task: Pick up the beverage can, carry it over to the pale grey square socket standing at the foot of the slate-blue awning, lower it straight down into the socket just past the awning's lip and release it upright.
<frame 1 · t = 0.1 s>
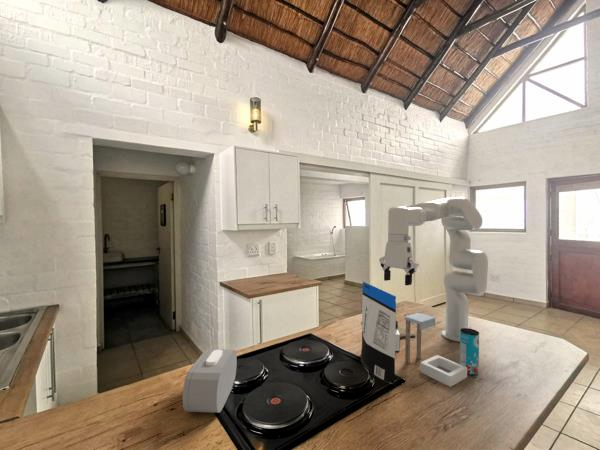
hand: (397, 282, 108), 31 cm above the countertop, tool pointing down, fingers open, 9 cm apart
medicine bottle: (390, 347, 122), on the countertop
beverage can: (469, 372, 102), on the countertop
protein powder: (376, 368, 104), on the countertop
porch: (435, 370, 103), on the countertop
alarm clock: (212, 400, 85), on the countertop
dish towel: (386, 331, 142), on the countertop
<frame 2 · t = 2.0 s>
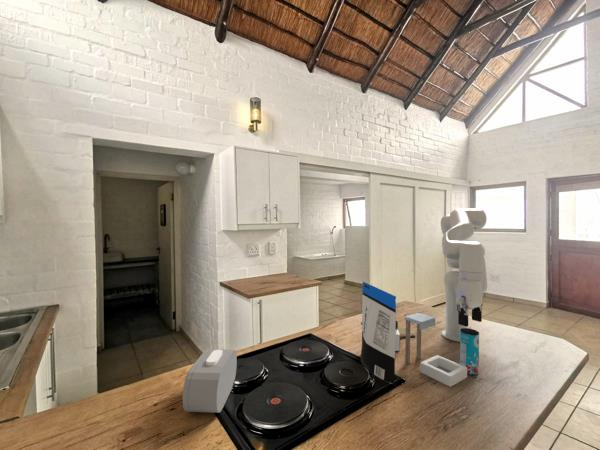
hand: (470, 323, 102), 18 cm above the countertop, tool pointing down, fingers open, 9 cm apart
nothing on the countertop moved.
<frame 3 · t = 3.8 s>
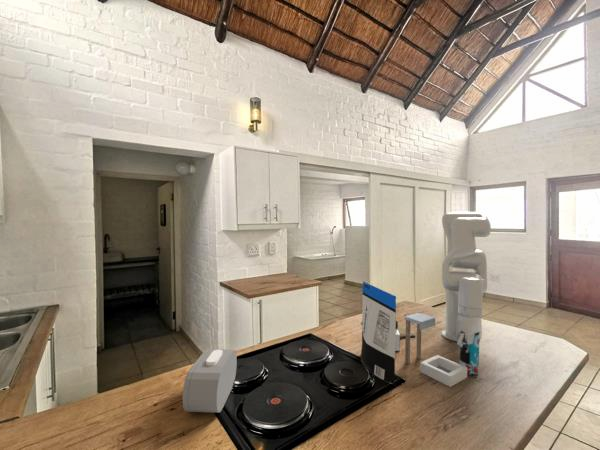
hand: (469, 359, 102), 5 cm above the countertop, tool pointing down, fingers open, 5 cm apart
beverage can: (469, 372, 102), on the countertop, touching gripper
everything else where it was.
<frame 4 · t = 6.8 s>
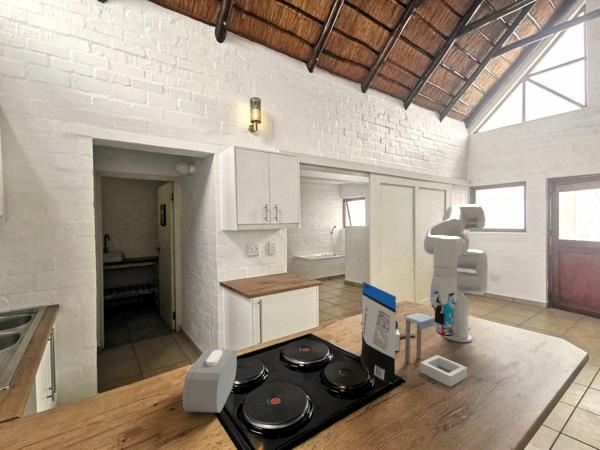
hand: (444, 321, 100), 19 cm above the countertop, tool pointing down, fingers closed on beverage can, 5 cm apart
beverage can: (445, 333, 100), point 15 cm above the countertop, touching gripper
everything else where it was.
when the fingers open (5 cm above the countertop, at t = 9.6 s): beverage can stays where it is, resting on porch.
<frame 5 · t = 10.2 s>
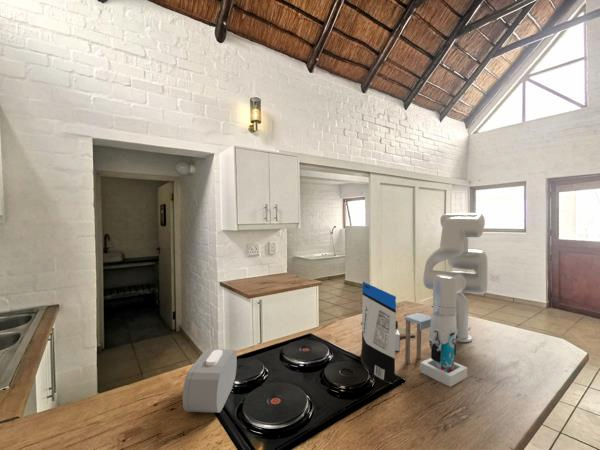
hand: (443, 357, 100), 6 cm above the countertop, tool pointing down, fingers open, 9 cm apart
beverage can: (444, 373, 101), resting on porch
everything else where it was.
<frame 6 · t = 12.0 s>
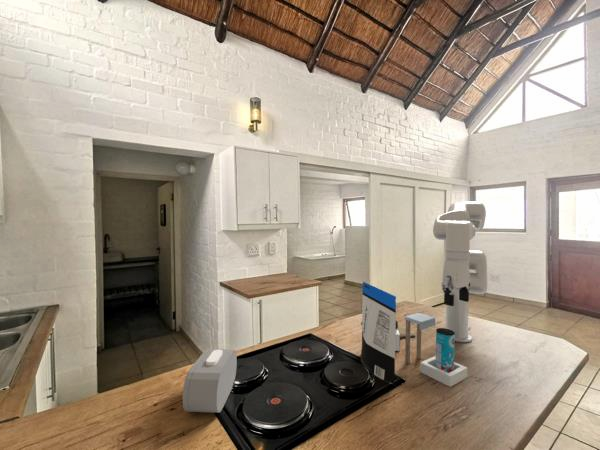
hand: (456, 303, 101), 26 cm above the countertop, tool pointing down, fingers open, 9 cm apart
nothing on the countertop moved.
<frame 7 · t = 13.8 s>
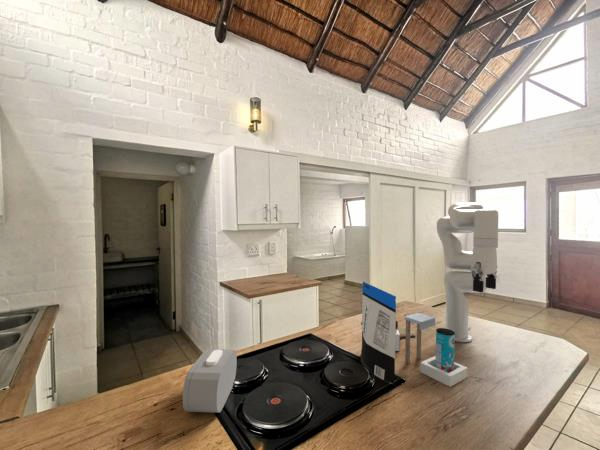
hand: (484, 289, 102), 30 cm above the countertop, tool pointing down, fingers open, 9 cm apart
nothing on the countertop moved.
at the end: beverage can 1.0 cm from the target spot on the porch, point 0.2 cm above the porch's base; beverage can tilted 0°; the gripper is holding nothing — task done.
